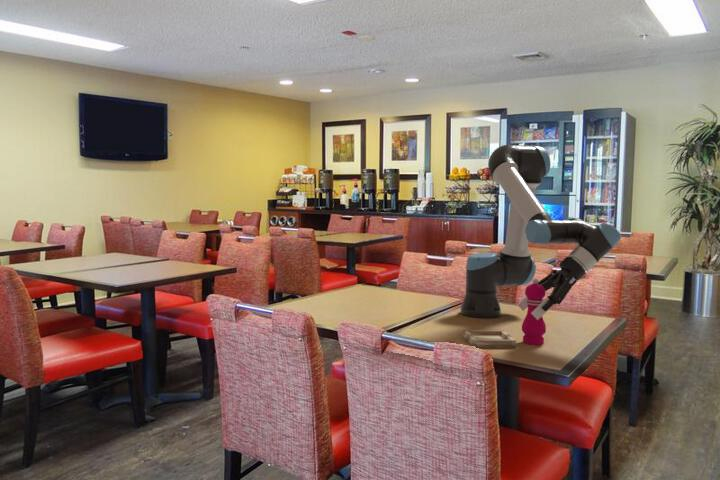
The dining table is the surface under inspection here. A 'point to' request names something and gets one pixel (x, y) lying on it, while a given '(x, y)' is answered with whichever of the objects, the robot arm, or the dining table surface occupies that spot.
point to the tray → (489, 339)
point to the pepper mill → (530, 324)
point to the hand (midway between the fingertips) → (526, 312)
